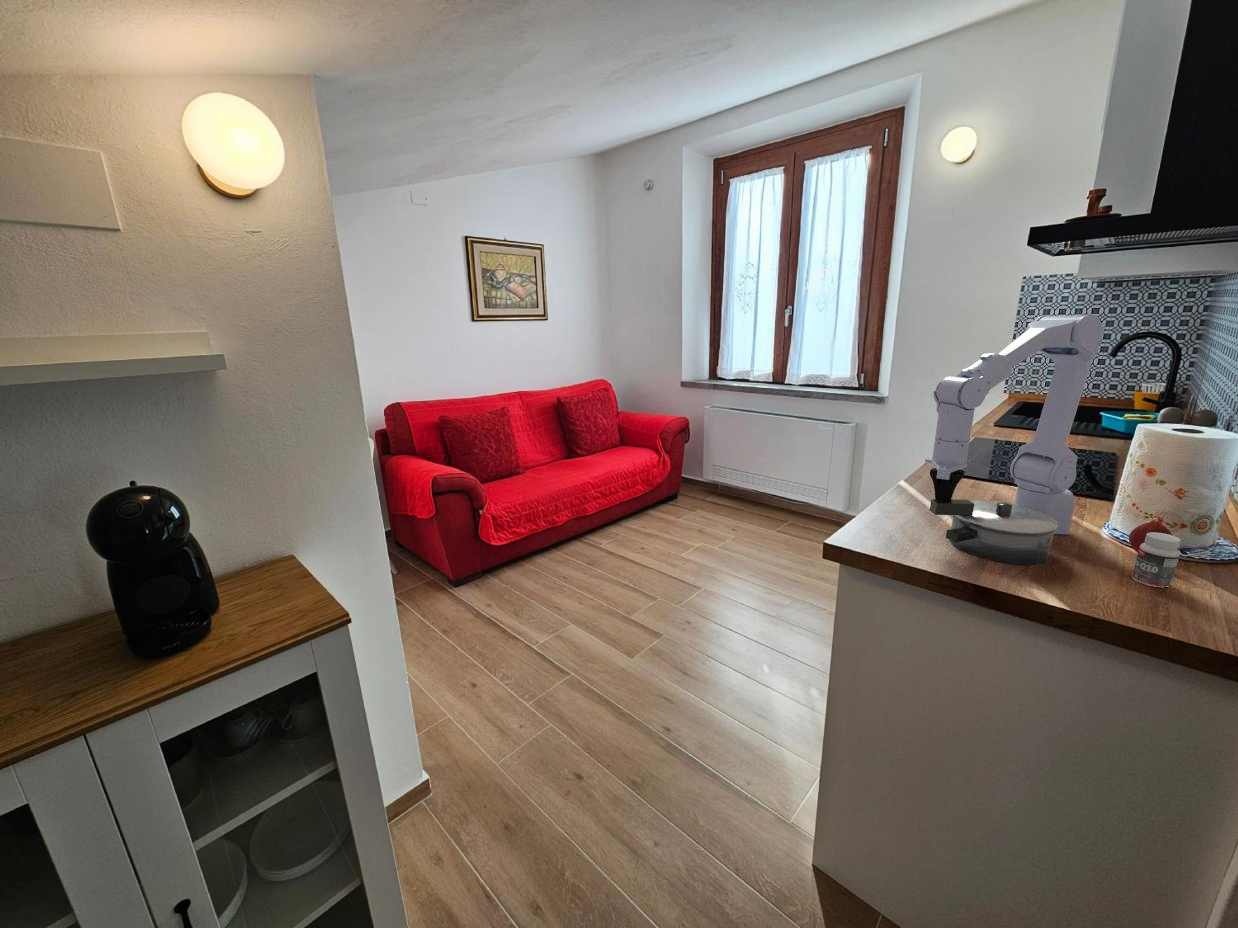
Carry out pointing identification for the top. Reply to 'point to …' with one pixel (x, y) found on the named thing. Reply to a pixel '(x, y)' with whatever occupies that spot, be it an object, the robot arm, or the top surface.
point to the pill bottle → (1157, 560)
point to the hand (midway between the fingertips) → (942, 505)
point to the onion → (1141, 531)
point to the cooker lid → (997, 516)
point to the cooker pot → (999, 544)
